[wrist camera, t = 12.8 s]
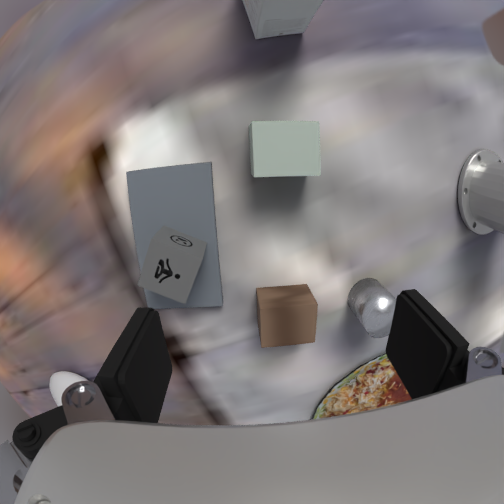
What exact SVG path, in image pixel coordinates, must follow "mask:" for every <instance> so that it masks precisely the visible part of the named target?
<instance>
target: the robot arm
mask: <svg viewBox="0 0 504 504" xmlns="http://www.w3.org/2000/svg"><path fill="white" fill-rule="evenodd" d="M458 204H459V210H460V214H461V217H462V219H463V221H464V223H465V225H466V226H467V227H468V228H469V229H470V230H471V231H473V232H475V233H477V234H480V235H485V234H488V233H490V232H492V231H493V230H496V231H499V232H501V233H503V234H504V163H503V161H502V160H501V158H500V157H499V156H498V155H497V154H496V153H495V152H493V151H490V150H485V149H482V150H477V151H475V152H474V153H472V154H471V155H470V156H469V158H468V159H467V160H466V162H465V164H464V166H463V168H462V171H461V174H460V179H459V185H458ZM468 346H469V343H468V342H467V341H466V340H465V339H464V337H463V336H462V335H461V334H460V333H459V332H458V331H457V330H456V329H455V328H454V327H453V326H452V325H451V324H450V323H449V322H448V321H447V320H446V319H445V318H444V317H443V316H442V315H441V314H440V313H439V312H438V311H437V310H436V309H435V308H434V307H433V306H432V305H431V304H430V303H429V302H428V301H427V300H426V299H425V298H424V297H423V296H422V295H421V294H420V293H419V292H418V291H417V290H415V289H412V290H405V291H402V292H401V293H400V295H398V296H397V299H396V304H395V310H394V315H393V320H392V324H391V329H390V334H389V338H388V342H387V346H386V355H387V357H388V359H389V360H390V362H391V364H392V365H393V367H394V369H395V371H396V372H397V374H398V376H399V377H400V379H401V381H402V383H403V384H404V386H405V388H406V390H407V391H408V393H409V395H410V397H411V399H412V400H408V401H405V402H401V403H397V404H393V405H389V406H385V407H380V408H376V409H371V410H367V411H362V412H357V413H351V414H346V415H340V416H334V417H327V418H321V419H313V420H305V421H296V422H286V423H274V424H258V425H231V426H208V425H177V424H161V423H158V420H159V416H160V413H161V409H162V405H163V402H164V398H165V395H166V391H167V388H168V384H169V381H170V378H171V374H172V364H171V360H170V357H169V353H168V349H167V345H166V341H165V338H164V334H163V330H162V326H161V321H160V317H159V313H158V312H157V311H154V309H153V308H137V309H136V311H135V313H134V314H133V316H132V317H131V319H130V321H129V322H128V324H127V326H126V327H125V329H124V331H123V332H122V334H121V335H120V337H119V339H118V340H117V342H116V343H115V345H114V347H113V348H112V350H111V352H110V354H109V355H108V357H107V359H106V360H105V362H104V364H103V366H102V367H101V369H100V371H99V373H98V374H97V376H96V378H95V380H94V382H91V381H79V382H75V383H73V384H71V385H70V386H68V387H67V388H66V389H65V391H64V392H63V394H62V397H61V401H62V405H61V406H59V407H57V408H54V409H52V410H50V411H47V412H45V413H42V414H40V415H38V416H35V417H33V418H30V419H28V420H25V421H24V422H22V423H20V424H19V425H18V426H17V427H16V428H15V430H14V433H13V441H12V442H11V443H10V442H9V441H8V440H7V441H5V442H4V443H3V444H1V445H0V504H504V368H502V362H501V358H500V357H499V355H498V354H497V353H496V352H495V351H493V350H492V349H489V348H486V347H476V348H474V349H472V350H471V351H470V352H469V351H468V350H467V349H468Z"/></svg>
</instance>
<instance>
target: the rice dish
mask: <svg viewBox="0 0 504 504" xmlns="http://www.w3.org/2000/svg"><path fill="white" fill-rule="evenodd" d="M359 374H361V375H359ZM358 375H359V376H358ZM356 376H357V377H356ZM355 377H356V380H357V381H355V382H353V383H350V381H351V380H352V379H355ZM348 385H349V386H348ZM408 400H412V399H411V397H410V395H409V393H408V391H407V390H406V388H405V386H404V384H403V383H402V381H401V379H400V377H399V376H398V374H397V372H396V371H395V369H394V367H393V365H392V364H391V362H390V360H389V359H388V357H387V355H386V354H384V355H382V356H379V357H377V358H375V359H373V360H371V361H370V362H368V363H365V364H364V365H360V366H359V367H358V368H357V369H356V370H354V371H352V372H351V373H350V374H349V375H348V376H347V377H345V378H343V379H342V380H341V381H340V382H338V383H337V384H336V385H335V386H334V387H333V388H332V389H331V390H330V391H329V393H328V394H326V397H324V398H323V399H322V402H320V403H319V406H318V408H317V410H316V413H315V415H314V418H313V419H321V418H327V417H332V416H340V415H346V414H351V413H357V412H362V411H367V410H371V409H376V408H380V407H385V406H389V405H393V404H397V403H401V402H405V401H408Z"/></svg>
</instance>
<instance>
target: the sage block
mask: <svg viewBox="0 0 504 504" xmlns="http://www.w3.org/2000/svg"><path fill="white" fill-rule="evenodd" d="M249 142H250V164H251V174H252V176H253V177H277V176H321V168H320V130H319V122H316V121H252V122H251V124H250V125H249Z"/></svg>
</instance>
